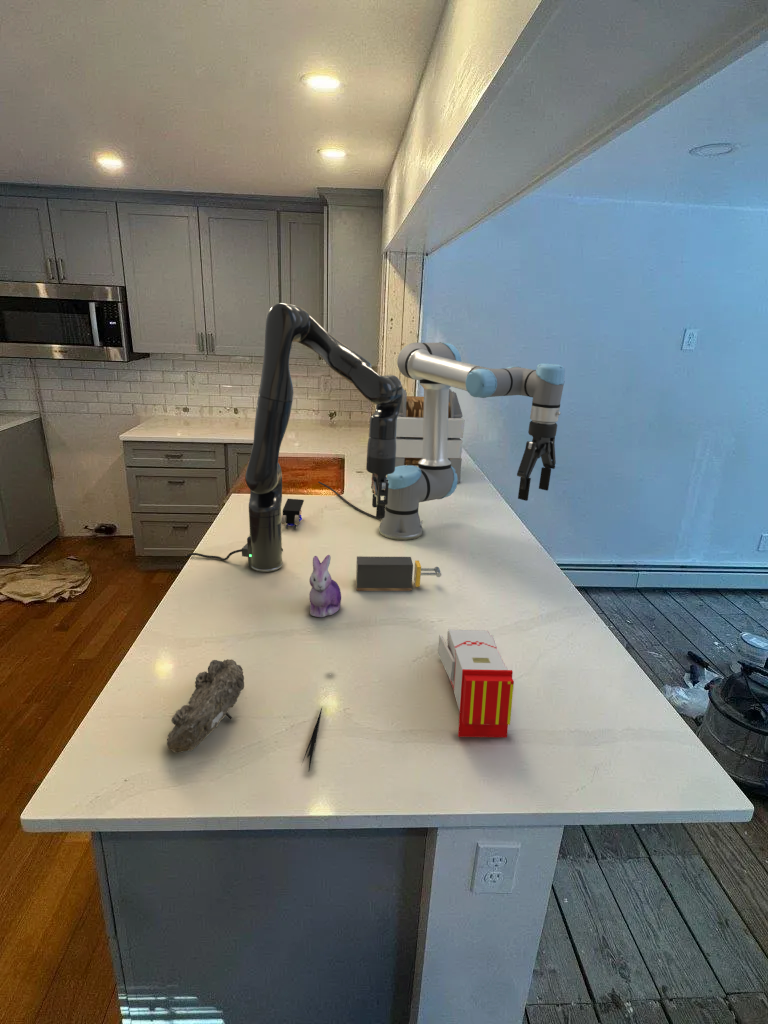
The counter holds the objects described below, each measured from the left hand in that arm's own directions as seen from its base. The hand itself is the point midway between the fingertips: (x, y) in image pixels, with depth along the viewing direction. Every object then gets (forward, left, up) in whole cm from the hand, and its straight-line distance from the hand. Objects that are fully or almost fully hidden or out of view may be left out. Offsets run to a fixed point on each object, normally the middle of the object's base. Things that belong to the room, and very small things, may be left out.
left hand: (378, 512), depth 153 cm
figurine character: (-42, +36, -23) cm, 60 cm away
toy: (+32, -38, -23) cm, 55 cm away
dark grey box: (+2, +2, -23) cm, 23 cm away
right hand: (+40, +25, +3) cm, 47 cm away
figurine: (-9, -17, -23) cm, 30 cm away
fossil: (-13, -62, -23) cm, 67 cm away
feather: (+6, -56, -23) cm, 61 cm away
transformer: (-15, +122, -23) cm, 125 cm away
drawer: (+7, +4, -22) cm, 23 cm away
